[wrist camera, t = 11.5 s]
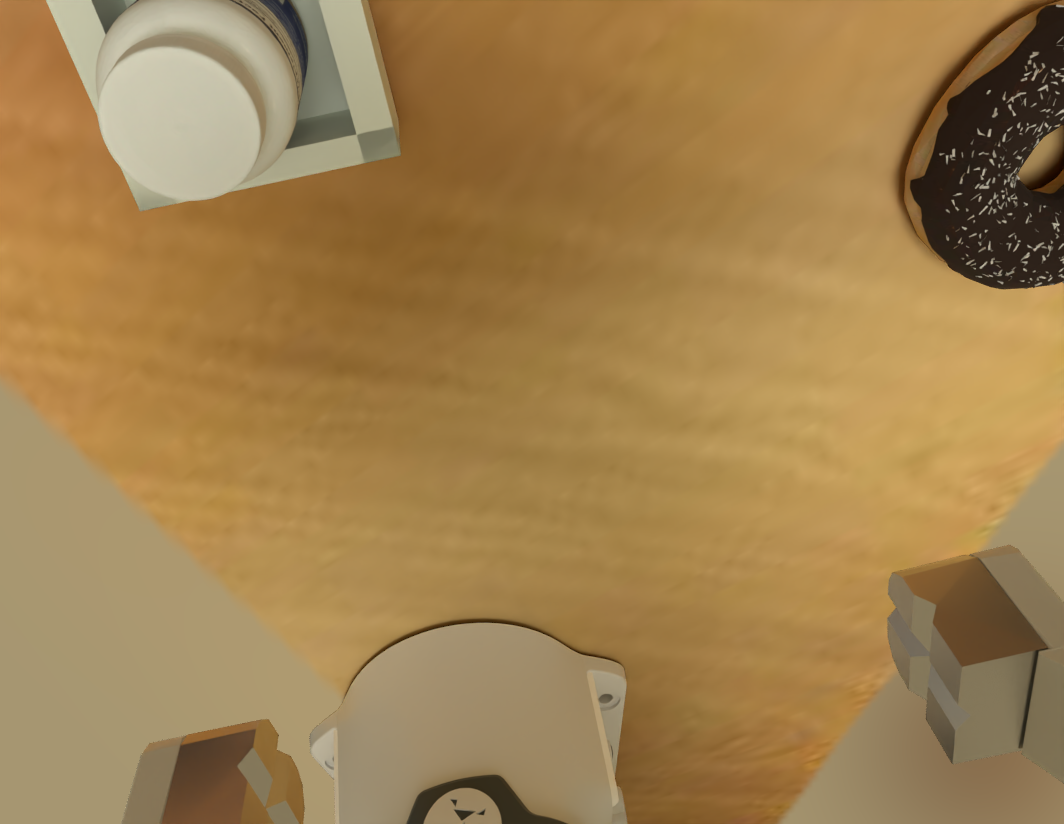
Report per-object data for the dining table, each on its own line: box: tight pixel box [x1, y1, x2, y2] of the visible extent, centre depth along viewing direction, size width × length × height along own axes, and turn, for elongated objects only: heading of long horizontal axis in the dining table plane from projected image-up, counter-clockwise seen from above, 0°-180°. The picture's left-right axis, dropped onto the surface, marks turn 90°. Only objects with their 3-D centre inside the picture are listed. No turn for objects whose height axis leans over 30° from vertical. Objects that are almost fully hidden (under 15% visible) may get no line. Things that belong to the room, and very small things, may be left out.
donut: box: [904, 0, 1064, 289], centre depth 37 cm, size 11×12×4 cm
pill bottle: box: [96, 0, 308, 201], centre depth 27 cm, size 5×5×10 cm
